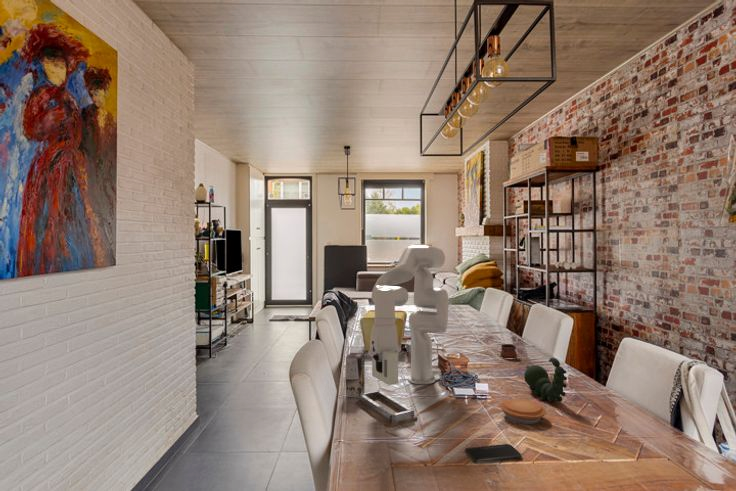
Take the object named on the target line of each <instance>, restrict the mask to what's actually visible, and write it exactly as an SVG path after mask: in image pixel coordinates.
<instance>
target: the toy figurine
mask: <svg viewBox="0 0 736 491" xmlns="http://www.w3.org/2000/svg"><path fill="white" fill-rule="evenodd" d="M548 362H549V363H551V364H552V365H553V366H554V373H553V375H552V377H553V379H552V381H551V380H550V378H549V377H550V376H549V373H548V371H547V370H546V368H544V367H543V366H540V365H539V364H538V365H537V364H536V365H535V364H533V365H526V366H525V367H526V369H525V371H524V374H523V377H524V382H525V383H526V384H527V385H528V388H529V389H530V391H532V392H533V394H534V395H535V396H540V399H541V401H546V400H547V401H548V402H549V403H553V402H554V401H555V399H556V401H558V402H562V401H563V397H565V396H566V395H567V394H566V392H565V391H564V389H565V388H567V387H568V385H567V383H565V381H567V380H568V377H567V376H565V374H567V370H565V368H564V367H562V366H561V363H560V361H559V360H558V359H557V358H556V357H551V358H549V360H548Z"/></svg>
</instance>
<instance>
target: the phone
mask: <svg viewBox="0 0 736 491" xmlns="http://www.w3.org/2000/svg"><path fill="white" fill-rule="evenodd" d="M464 452H465V454H466V456H468V458H469V459H470V460H471V461H472V462H473V463H474V464H489V463H497V462H498V463H500V462H507V461H508V462H509V461H515V460H516V461H518V460H522V459H523V454H522V453H521V452H519V450H517V449H516V448H515V447H514V446H513V445H511V444H509V443H506V444H505V443H504V444H495V445H484V446H473V447H466V448H464Z"/></svg>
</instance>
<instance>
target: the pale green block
mask: <svg viewBox="0 0 736 491" xmlns="http://www.w3.org/2000/svg"><path fill="white" fill-rule="evenodd" d="M375 353H376V352H373V354H375ZM381 362H382V373H379V372H377V370H376V361H375V359H374V358H373V357H371V376H372V377H373V378H375V379H377V381H378V380H379V381H380V382H382V383H384V384H386V385H388V386H391V385H398V384H399V353H397V352H395V351H386V352H383V353H382V357H381Z"/></svg>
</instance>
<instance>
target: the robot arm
mask: <svg viewBox="0 0 736 491" xmlns="http://www.w3.org/2000/svg"><path fill="white" fill-rule="evenodd" d="M445 261H446V255H445V252H444V251H443V249H441V248H438V247H435V246H432V245H409V246H407V247H406V248H405V249H404V250H403V251H402V254H401V256H400V258H399V260H398V261H397V264H396V266H395V267H393V268H391V269H389V270H387V271H386V272H384V273H383V274H381V275H380V276H379V277H378V279H377V281H376V282H375V284H374V286H373V288H372V290H371V301H372V302H373V303H374V310H375V325H373V326H372V331H371V339H370V350H369V352H368V351H367V355H368V356H370V357H371V358H372V357H373V358H374V359H375V361H376V370H377V372H379V373H382V362H381V357H382V353H383V352H386V351H395V352H397V353H398V354H399V353H401V352H402V347H401V348H400V347H399V345H398V333H397V327H396V325H395V321H397V318H395V310H396V307H403V306H404V305H405V304H406V303H407V302H408V301H409V292H408V289H407V288H405V287H403V286H396V285H400V284H403V283H406V282H409V281H412V280H413V278H414V287H413V305H414V306H415V307H416V308H420V309H433V310H436V311H428V310H415V311H412V312H411V313H410V314H409V315H408V316H409V317H408V326H409V332H410V374H409V375H408V376H407V381H408V382H409V383H412V384H415V385H431V384H434V383H435V382H436V377H435V375H440V374H441V370H440V369H434V368H433V342H432V338H431V337H430V335H429V334H437V335H443V334H446V332H447V330H448V322H449V304H450V302H449V294H448V291H447V290H446V289H444V288H442V287H434V276H433V274H432V272H431V271H430V269H429V268H431V269H433V268H434V269H435V268H436V269H437V268H438V269H440V268H442V267H443V266H444V264H445ZM373 352H376V353H375V354H373Z"/></svg>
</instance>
